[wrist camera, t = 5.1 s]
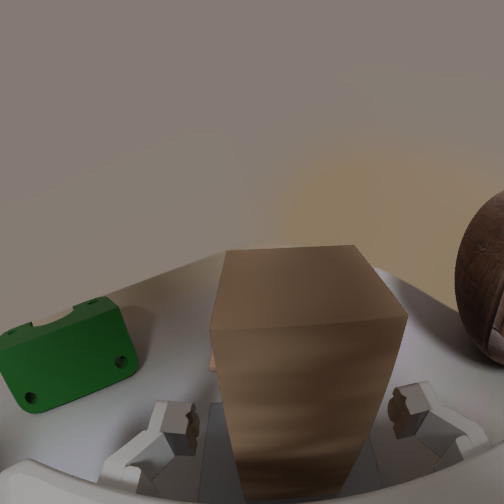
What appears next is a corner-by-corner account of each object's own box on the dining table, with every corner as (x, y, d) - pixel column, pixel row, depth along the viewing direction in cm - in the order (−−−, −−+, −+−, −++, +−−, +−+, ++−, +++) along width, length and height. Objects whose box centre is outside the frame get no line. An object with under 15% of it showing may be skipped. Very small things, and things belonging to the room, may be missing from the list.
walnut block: (244, 500, 11) (209, 329, 7) (246, 431, 16) (226, 250, 12) (339, 492, 11) (408, 315, 7) (326, 425, 16) (353, 245, 11)
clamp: (120, 384, 25) (122, 296, 26) (138, 412, 21) (140, 308, 21) (6, 380, 18) (2, 283, 19) (1, 410, 13) (-11, 293, 14)
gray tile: (194, 536, 9) (193, 535, 9) (211, 404, 19) (210, 402, 18) (389, 520, 9) (391, 518, 9) (354, 395, 18) (355, 393, 18)
